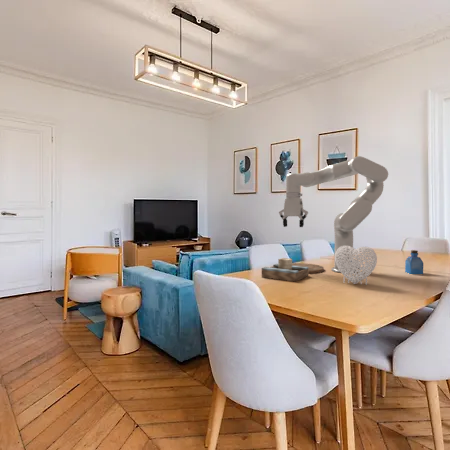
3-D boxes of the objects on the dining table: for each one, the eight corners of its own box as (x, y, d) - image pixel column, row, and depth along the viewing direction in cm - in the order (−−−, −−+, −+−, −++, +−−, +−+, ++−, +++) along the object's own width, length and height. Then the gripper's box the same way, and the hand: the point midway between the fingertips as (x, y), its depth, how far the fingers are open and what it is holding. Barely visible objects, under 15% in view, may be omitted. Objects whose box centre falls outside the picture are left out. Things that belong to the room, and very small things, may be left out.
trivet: (291, 264, 205) (291, 261, 205) (330, 269, 189) (330, 266, 189) (269, 270, 186) (269, 267, 186) (311, 276, 170) (311, 272, 170)
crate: (308, 276, 169) (308, 267, 169) (294, 281, 156) (294, 271, 156) (276, 272, 180) (276, 263, 179) (261, 277, 167) (261, 268, 167)
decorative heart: (331, 283, 152) (332, 246, 151) (337, 279, 161) (338, 244, 160) (374, 288, 142) (375, 248, 141) (378, 283, 151) (379, 246, 150)
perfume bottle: (417, 272, 177) (417, 249, 176) (423, 274, 170) (423, 251, 170) (405, 272, 177) (405, 249, 177) (410, 274, 171) (410, 251, 170)
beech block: (291, 276, 168) (291, 258, 168) (287, 278, 164) (287, 260, 164) (283, 275, 171) (283, 257, 171) (278, 276, 167) (278, 259, 167)
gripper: (310, 195, 182) (310, 226, 183) (282, 196, 193) (282, 226, 193) (305, 195, 176) (304, 227, 177) (276, 196, 187) (276, 226, 188)
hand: (293, 226), depth 185 cm, fingers open, 9 cm apart
